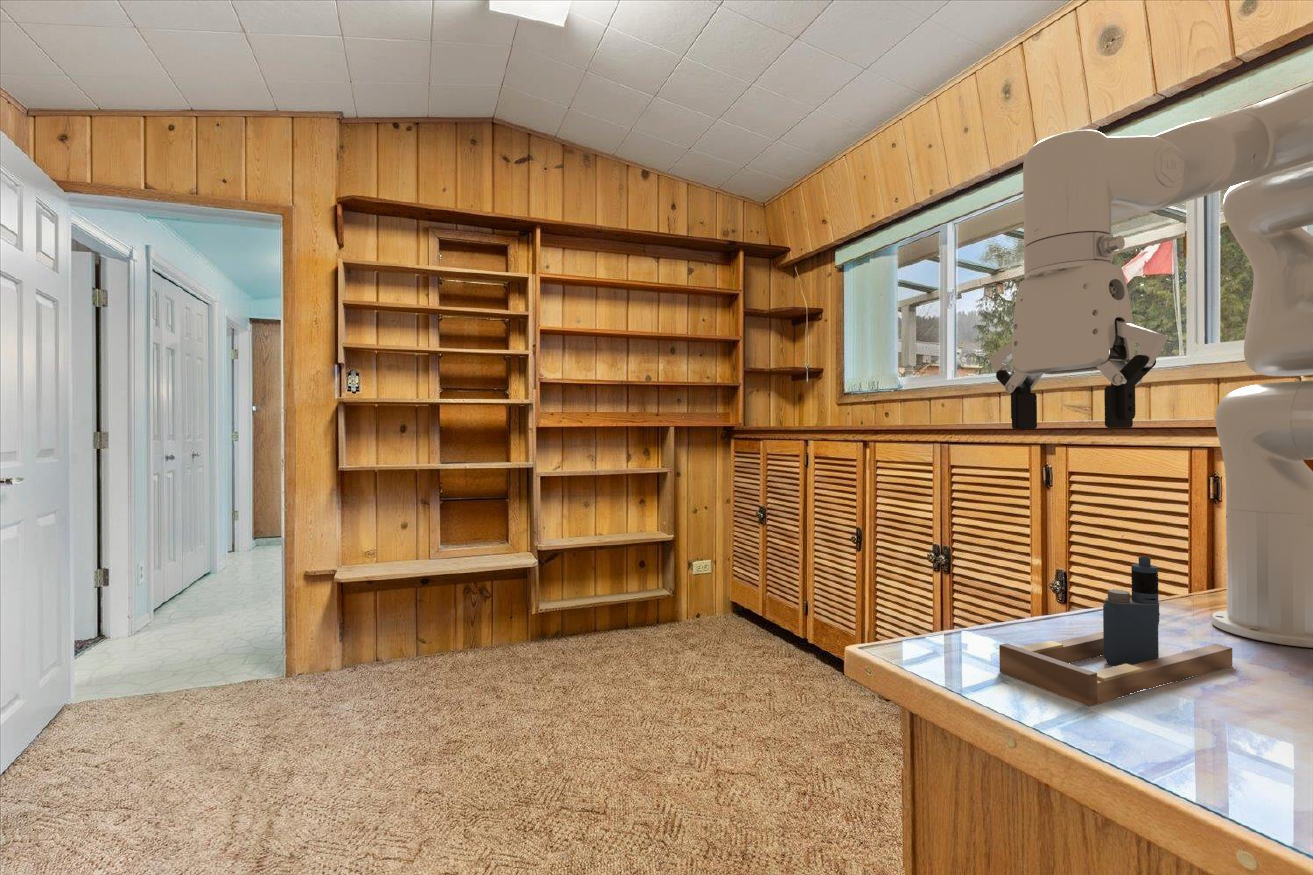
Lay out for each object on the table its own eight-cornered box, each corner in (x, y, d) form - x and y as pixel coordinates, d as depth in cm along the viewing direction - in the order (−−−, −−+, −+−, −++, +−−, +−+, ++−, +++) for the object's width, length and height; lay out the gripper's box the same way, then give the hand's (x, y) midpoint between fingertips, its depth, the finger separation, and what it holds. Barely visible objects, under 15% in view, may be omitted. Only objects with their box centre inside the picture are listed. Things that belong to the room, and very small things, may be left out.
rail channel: (1137, 640, 78) (1137, 616, 78) (1232, 666, 69) (1232, 638, 69) (999, 672, 69) (999, 644, 69) (1089, 706, 60) (1089, 674, 60)
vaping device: (1165, 671, 68) (1164, 560, 68) (1110, 668, 69) (1109, 558, 69) (1152, 662, 71) (1150, 555, 71) (1099, 659, 72) (1098, 554, 72)
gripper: (1186, 241, 58) (1188, 427, 58) (1014, 283, 74) (1016, 429, 74) (1136, 232, 55) (1138, 428, 55) (968, 278, 71) (970, 430, 71)
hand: (1068, 428), depth 65 cm, fingers open, 9 cm apart
